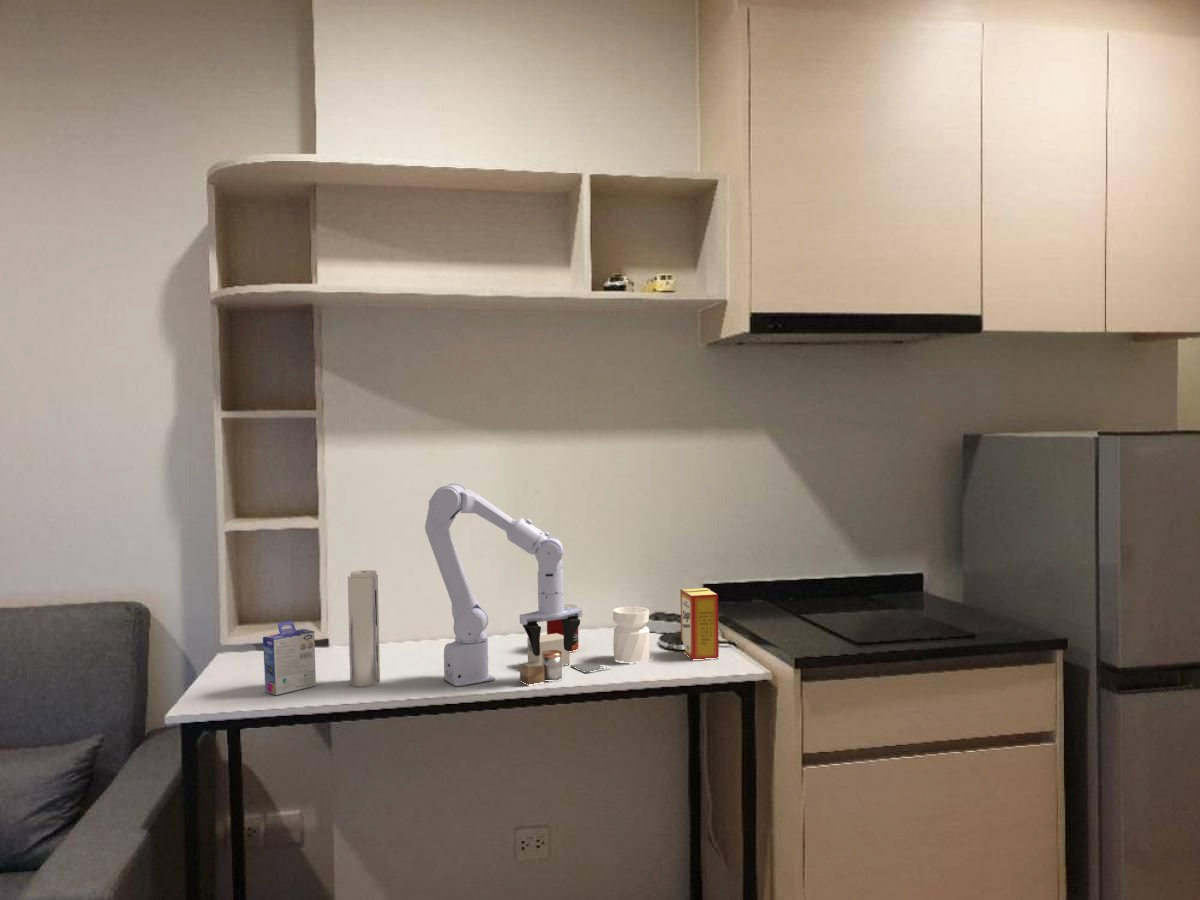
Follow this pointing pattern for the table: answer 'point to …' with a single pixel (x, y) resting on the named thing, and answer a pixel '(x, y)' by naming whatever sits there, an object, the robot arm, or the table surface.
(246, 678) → the table surface
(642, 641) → the white faceted vase
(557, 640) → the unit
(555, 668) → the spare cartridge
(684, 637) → the red and yellow box
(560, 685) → the table surface
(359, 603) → the beige tall cylinder
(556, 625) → the canned food
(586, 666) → the pad
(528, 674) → the walnut block
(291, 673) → the ink cartridge box
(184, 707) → the table surface
